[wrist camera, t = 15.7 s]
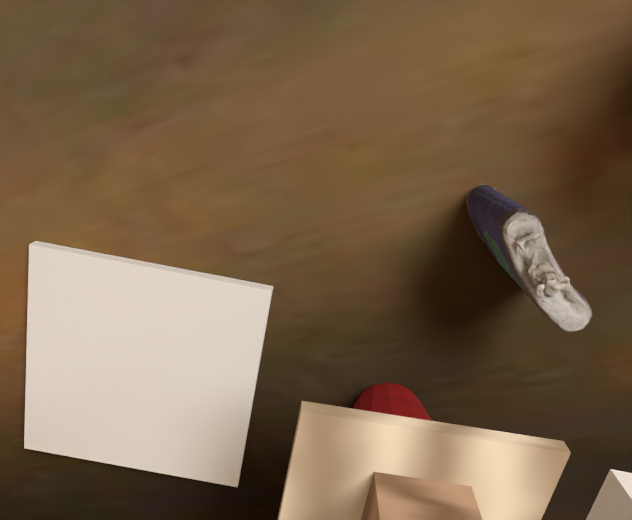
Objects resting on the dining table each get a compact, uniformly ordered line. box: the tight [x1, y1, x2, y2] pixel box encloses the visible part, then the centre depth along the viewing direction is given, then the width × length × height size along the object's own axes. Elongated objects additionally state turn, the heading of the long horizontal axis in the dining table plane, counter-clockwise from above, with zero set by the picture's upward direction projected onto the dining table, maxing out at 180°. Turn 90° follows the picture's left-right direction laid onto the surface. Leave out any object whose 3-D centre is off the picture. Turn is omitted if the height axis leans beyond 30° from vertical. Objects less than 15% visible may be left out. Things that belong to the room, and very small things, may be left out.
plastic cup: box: [353, 383, 433, 421], centre depth 41 cm, size 11×11×12 cm
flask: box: [466, 183, 593, 332], centre depth 37 cm, size 9×3×11 cm, turn 35°
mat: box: [24, 241, 273, 487], centre depth 46 cm, size 19×19×1 cm
